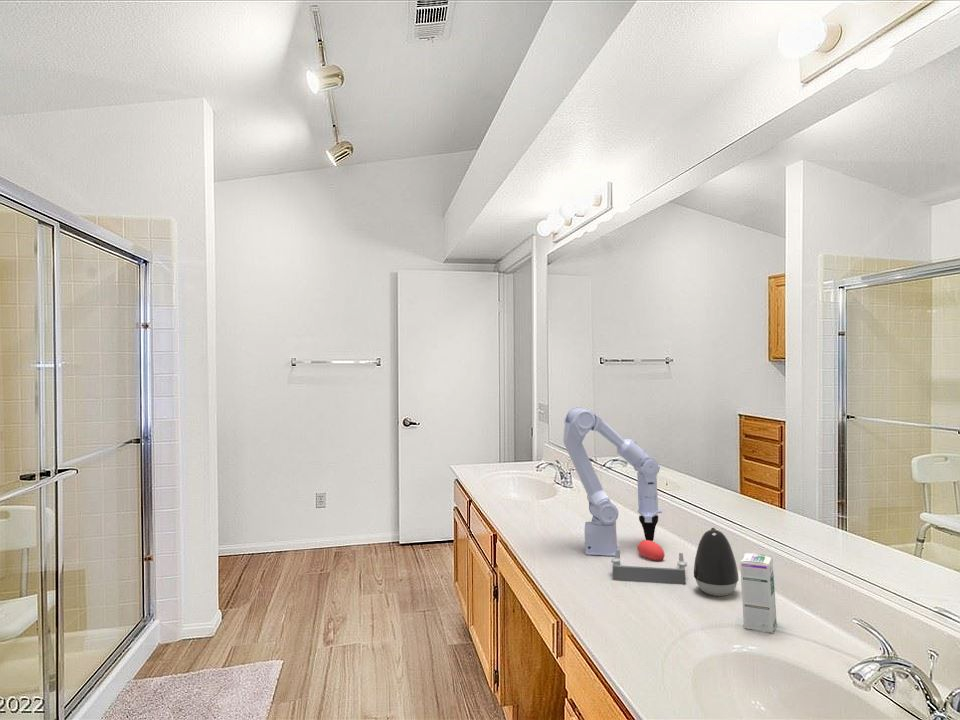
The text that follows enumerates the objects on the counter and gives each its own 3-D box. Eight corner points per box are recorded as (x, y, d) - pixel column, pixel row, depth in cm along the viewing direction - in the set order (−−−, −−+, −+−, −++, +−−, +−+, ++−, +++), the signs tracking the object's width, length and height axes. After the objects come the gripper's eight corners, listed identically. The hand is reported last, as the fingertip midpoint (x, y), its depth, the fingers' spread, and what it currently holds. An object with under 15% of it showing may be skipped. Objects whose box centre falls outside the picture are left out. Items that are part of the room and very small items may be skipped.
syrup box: (773, 634, 124) (770, 563, 124) (742, 628, 127) (739, 559, 127) (776, 623, 129) (773, 555, 129) (746, 618, 132) (744, 551, 132)
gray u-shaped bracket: (610, 579, 158) (609, 564, 158) (614, 562, 171) (613, 547, 172) (688, 584, 153) (687, 568, 153) (685, 566, 166) (685, 551, 166)
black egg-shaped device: (737, 586, 150) (734, 525, 150) (741, 602, 140) (738, 537, 140) (694, 582, 154) (691, 523, 154) (694, 598, 144) (691, 534, 144)
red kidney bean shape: (644, 567, 170) (654, 549, 169) (630, 547, 178) (640, 530, 177) (659, 571, 172) (669, 553, 170) (644, 551, 180) (654, 533, 178)
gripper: (661, 501, 175) (663, 548, 175) (661, 490, 189) (663, 534, 189) (636, 500, 177) (638, 547, 177) (637, 490, 191) (639, 533, 191)
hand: (649, 540), depth 183 cm, fingers closed
